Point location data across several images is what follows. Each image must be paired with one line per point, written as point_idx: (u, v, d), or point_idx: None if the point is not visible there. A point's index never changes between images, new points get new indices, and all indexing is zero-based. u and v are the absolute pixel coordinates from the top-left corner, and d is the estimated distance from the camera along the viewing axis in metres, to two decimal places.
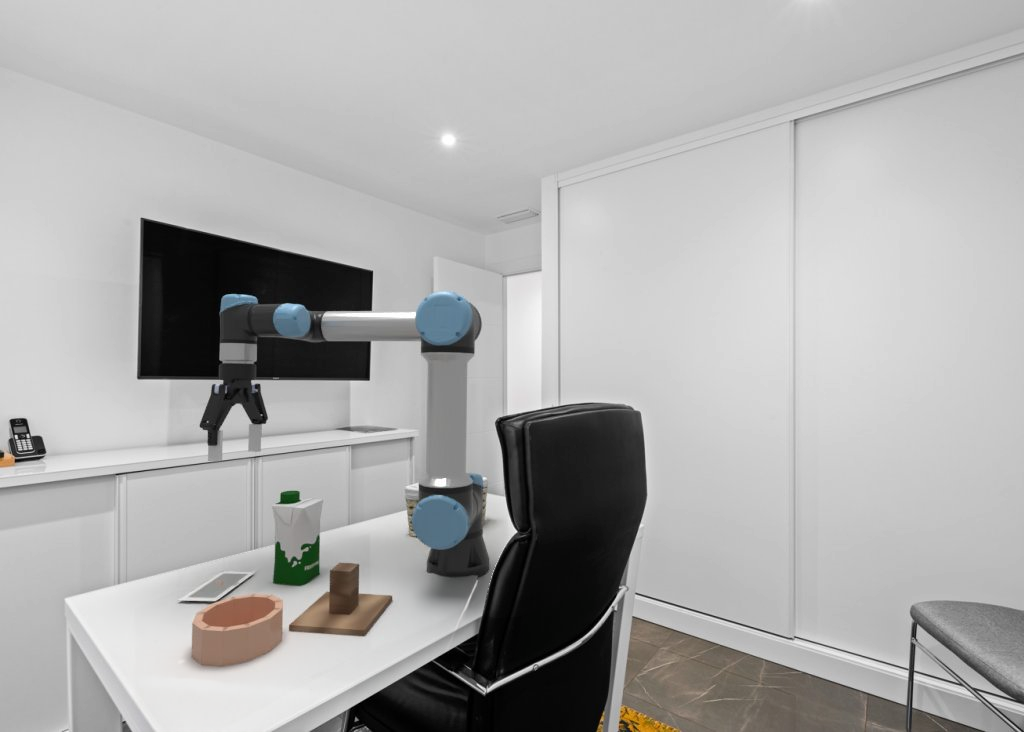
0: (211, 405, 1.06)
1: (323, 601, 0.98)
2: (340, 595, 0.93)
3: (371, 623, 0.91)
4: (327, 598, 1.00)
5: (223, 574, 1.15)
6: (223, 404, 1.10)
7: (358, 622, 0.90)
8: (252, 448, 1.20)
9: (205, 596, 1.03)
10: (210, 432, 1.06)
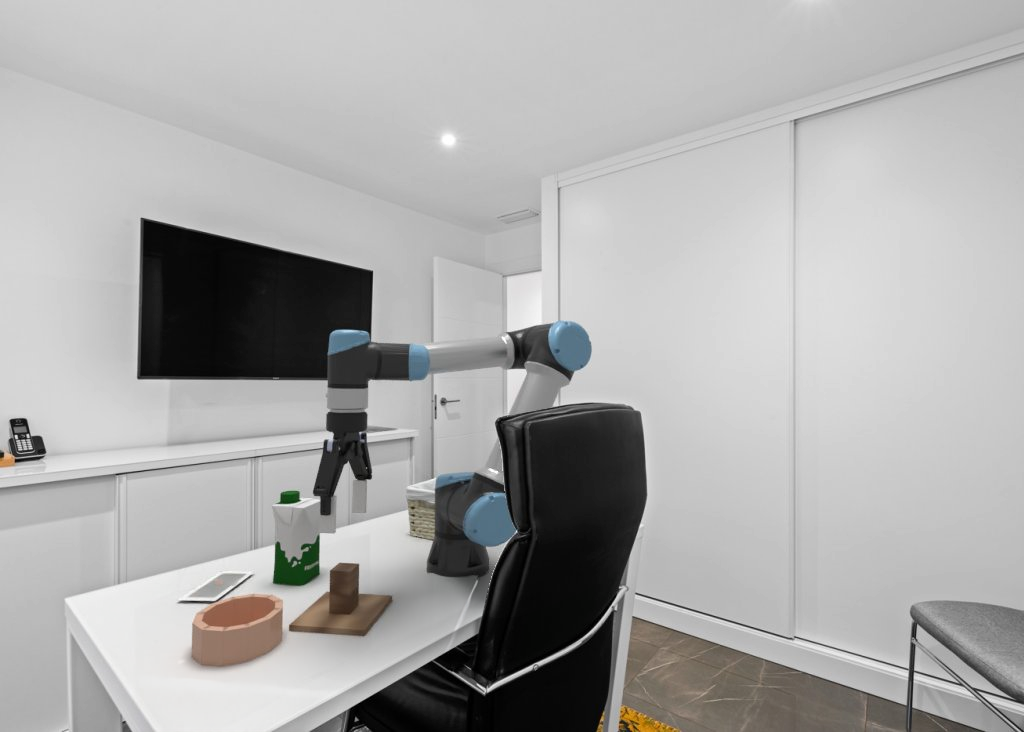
0: (325, 466, 0.88)
1: (323, 601, 0.98)
2: (340, 595, 0.93)
3: (371, 623, 0.91)
4: (327, 598, 1.00)
5: (222, 574, 1.15)
6: None
7: (358, 622, 0.90)
8: (357, 508, 1.02)
9: (204, 596, 1.03)
10: (324, 499, 0.87)
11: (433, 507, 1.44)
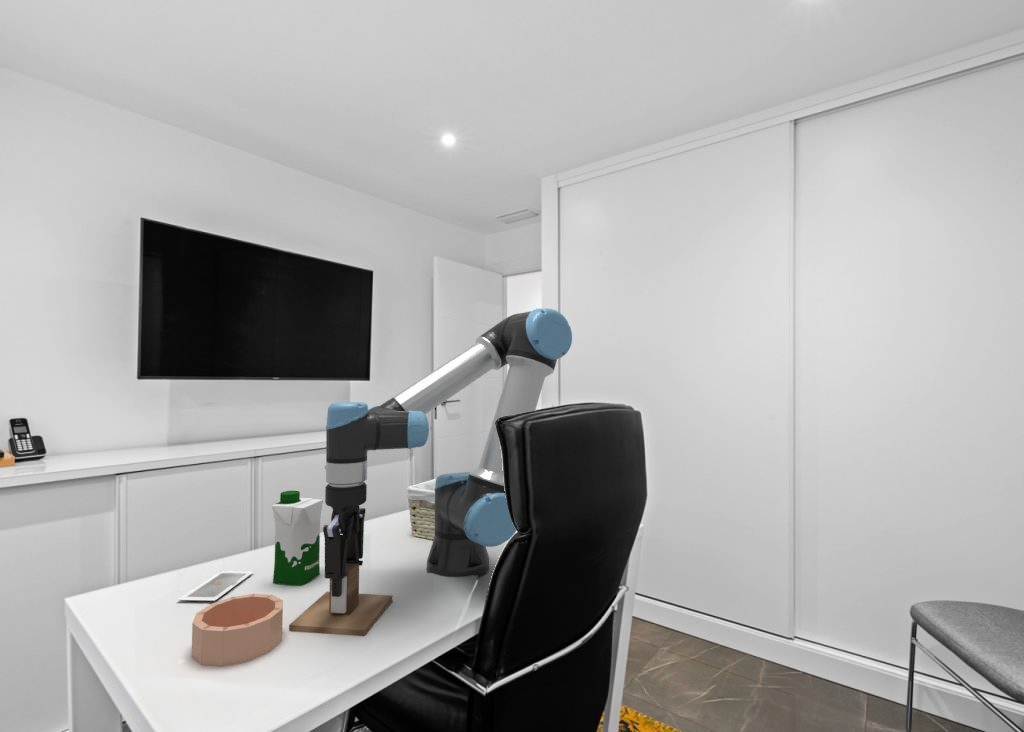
0: (330, 553, 0.90)
1: (323, 601, 0.98)
2: None
3: (371, 623, 0.91)
4: (327, 598, 1.00)
5: (221, 574, 1.15)
6: None
7: (358, 622, 0.90)
8: None
9: (204, 596, 1.03)
10: (335, 581, 0.91)
11: (434, 507, 1.44)
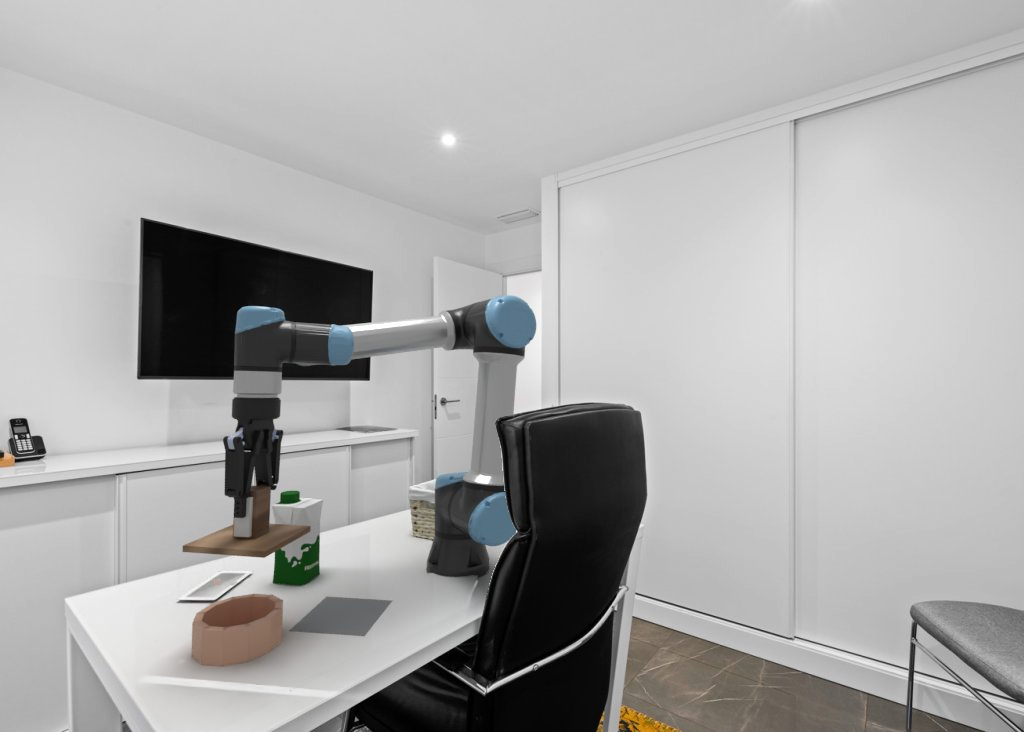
0: (231, 467, 0.81)
1: (232, 529, 0.89)
2: None
3: (276, 547, 0.81)
4: None
5: (221, 574, 1.15)
6: (244, 459, 0.84)
7: (261, 545, 0.81)
8: None
9: (204, 595, 1.04)
10: (237, 501, 0.82)
11: None
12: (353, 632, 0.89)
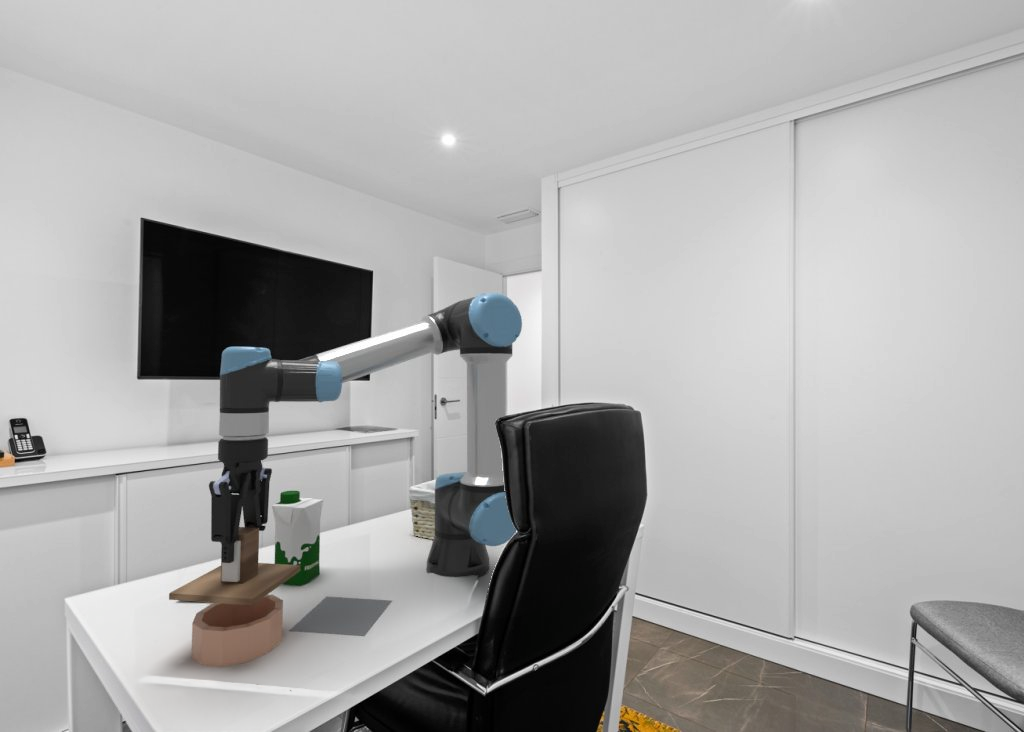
0: (217, 512, 0.79)
1: (220, 571, 0.88)
2: None
3: (264, 592, 0.80)
4: None
5: None
6: (231, 502, 0.83)
7: (249, 591, 0.80)
8: None
9: None
10: (225, 545, 0.81)
11: None
12: (353, 632, 0.89)
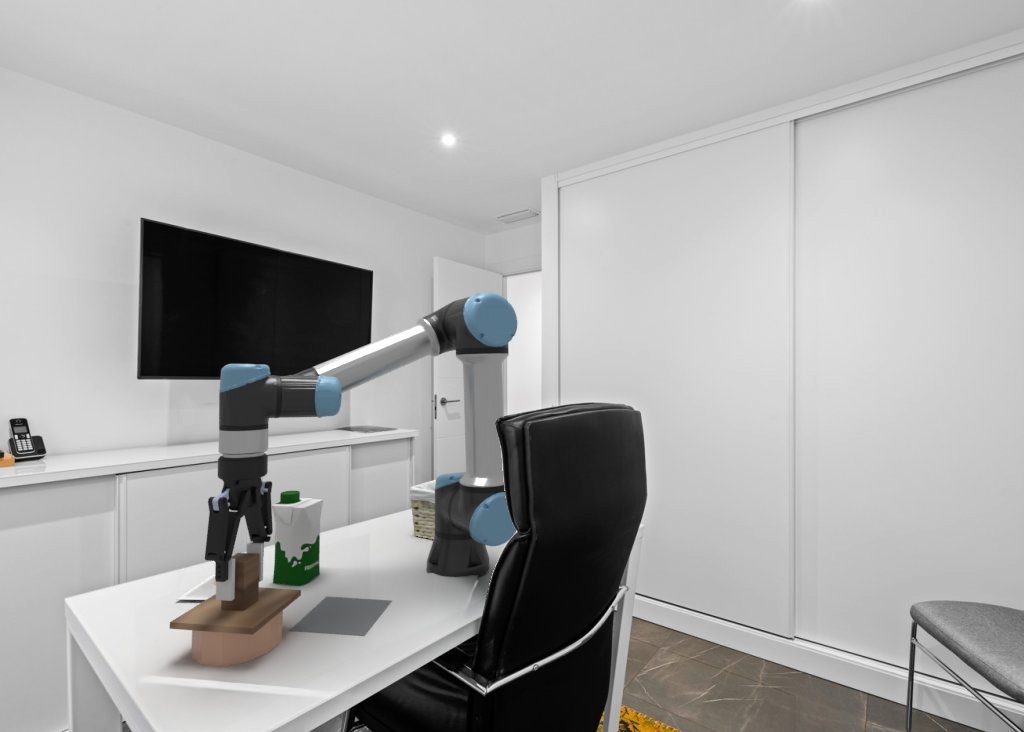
0: (214, 529, 0.79)
1: None
2: None
3: (265, 620, 0.80)
4: None
5: None
6: (228, 519, 0.82)
7: (249, 619, 0.80)
8: None
9: (203, 595, 1.04)
10: (219, 564, 0.80)
11: None
12: (353, 632, 0.89)
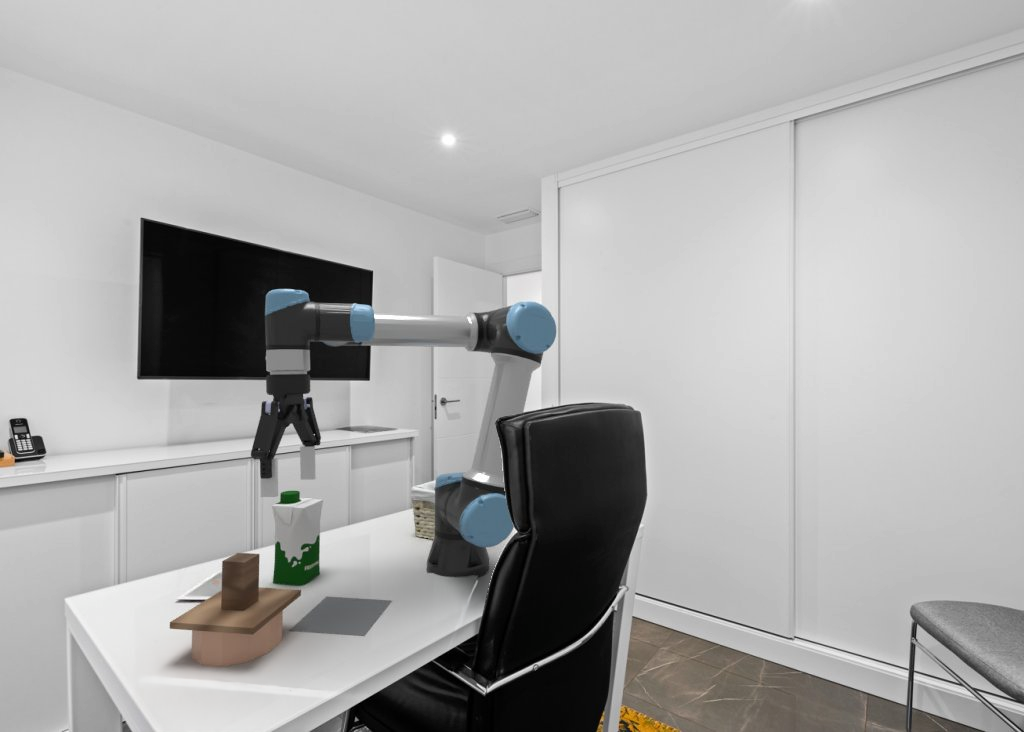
0: (263, 428, 0.85)
1: (221, 596, 0.88)
2: (233, 589, 0.83)
3: (265, 620, 0.80)
4: None
5: (219, 573, 1.15)
6: (275, 425, 0.89)
7: (249, 619, 0.80)
8: (305, 475, 0.99)
9: (203, 595, 1.04)
10: (263, 462, 0.85)
11: None
12: (353, 632, 0.89)
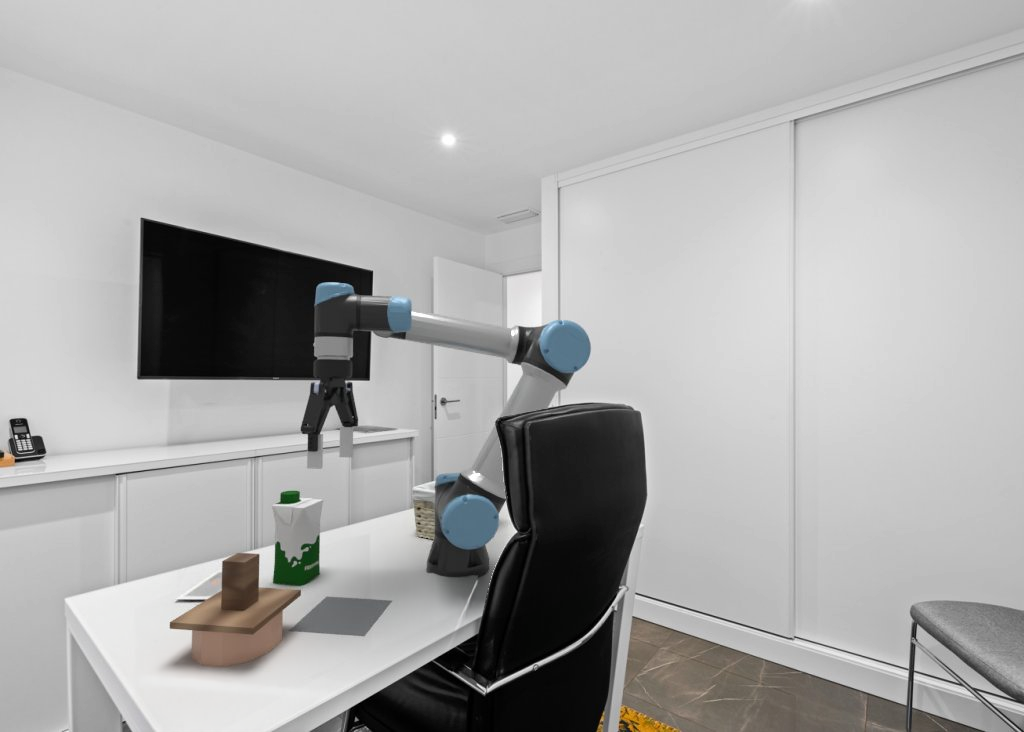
0: (311, 406, 0.95)
1: (221, 596, 0.88)
2: (233, 589, 0.83)
3: (265, 620, 0.80)
4: None
5: (218, 573, 1.15)
6: (321, 405, 0.98)
7: (249, 619, 0.80)
8: (344, 453, 1.09)
9: (202, 595, 1.04)
10: (311, 436, 0.94)
11: None
12: (353, 632, 0.89)
